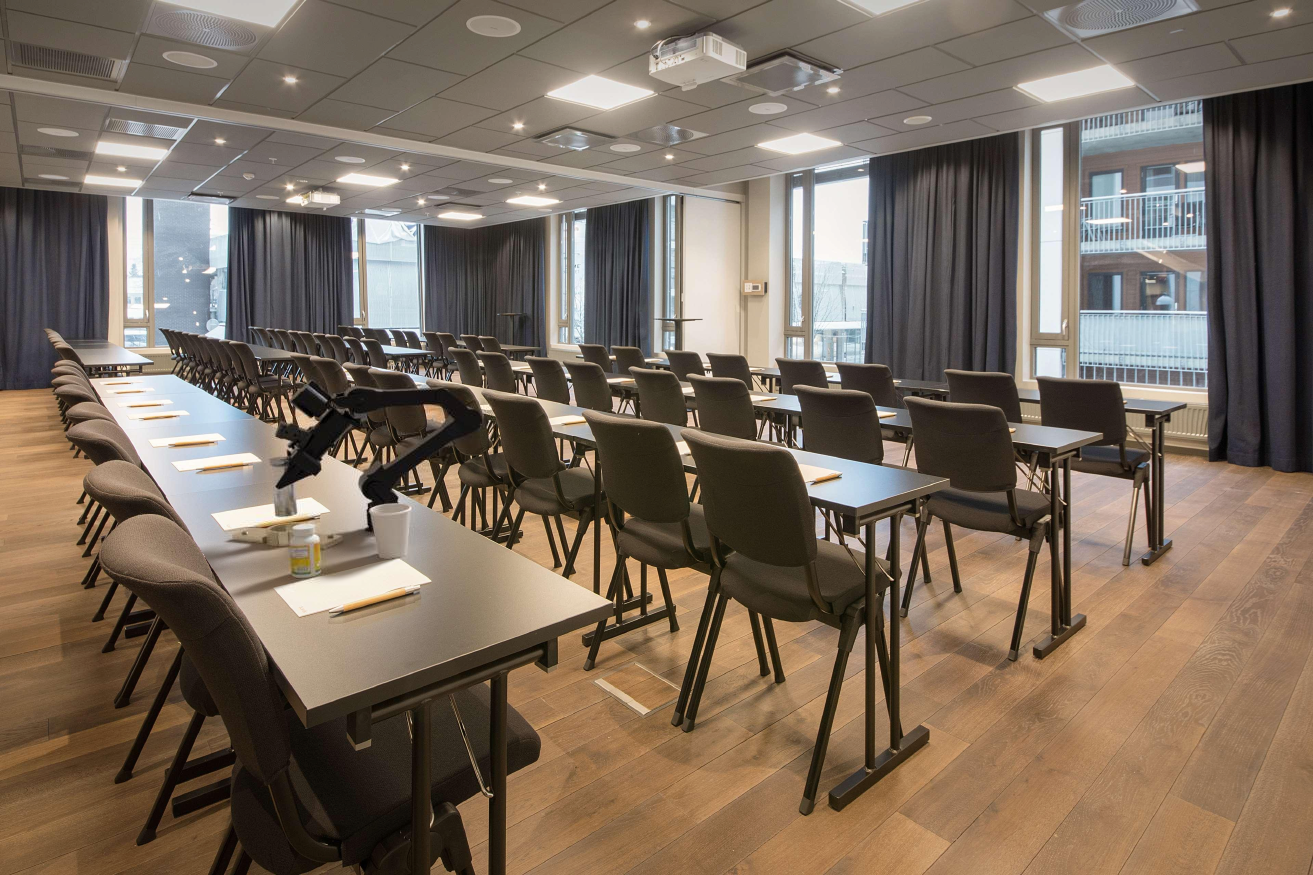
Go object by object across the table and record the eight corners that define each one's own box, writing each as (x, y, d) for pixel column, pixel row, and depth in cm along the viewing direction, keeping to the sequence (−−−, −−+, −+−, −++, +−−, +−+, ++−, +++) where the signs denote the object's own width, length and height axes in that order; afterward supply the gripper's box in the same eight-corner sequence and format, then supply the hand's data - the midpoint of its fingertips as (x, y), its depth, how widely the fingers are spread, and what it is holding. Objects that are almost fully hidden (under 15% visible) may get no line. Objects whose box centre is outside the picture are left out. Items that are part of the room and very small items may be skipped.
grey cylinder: (302, 513, 171) (298, 458, 168) (282, 518, 167) (277, 461, 165) (290, 510, 173) (285, 455, 171) (269, 515, 169) (264, 459, 167)
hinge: (346, 539, 172) (345, 526, 171) (321, 550, 164) (320, 537, 163) (256, 531, 178) (255, 518, 177) (229, 541, 170) (227, 528, 170)
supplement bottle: (299, 580, 146) (295, 532, 145) (286, 574, 150) (282, 526, 148) (327, 573, 150) (323, 525, 149) (313, 567, 154) (310, 520, 152)
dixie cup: (402, 545, 168) (399, 501, 166) (420, 554, 162) (418, 508, 160) (364, 554, 162) (361, 508, 160) (382, 563, 156) (380, 515, 154)
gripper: (294, 403, 176) (244, 455, 173) (299, 413, 160) (244, 471, 156) (334, 434, 181) (286, 485, 178) (343, 447, 165) (290, 503, 161)
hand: (276, 485), depth 168 cm, fingers closed on grey cylinder, 4 cm apart
